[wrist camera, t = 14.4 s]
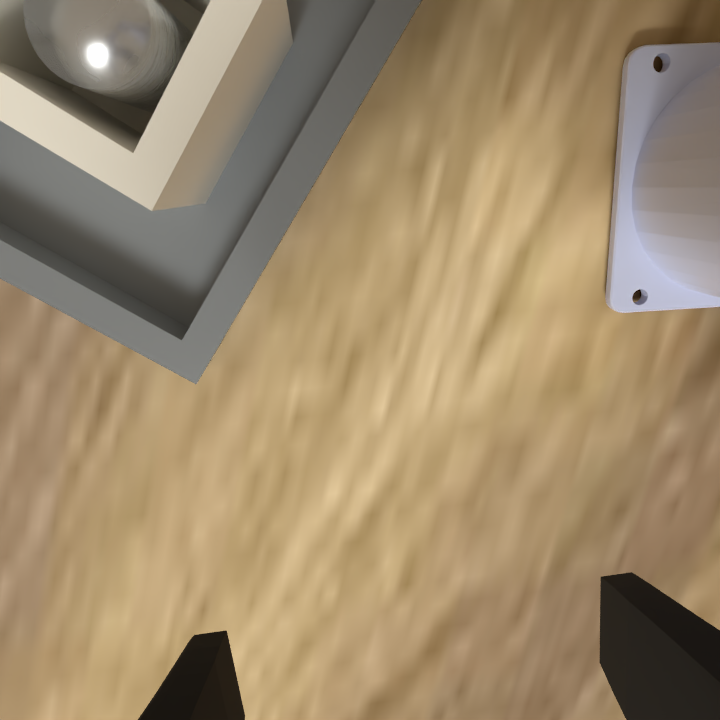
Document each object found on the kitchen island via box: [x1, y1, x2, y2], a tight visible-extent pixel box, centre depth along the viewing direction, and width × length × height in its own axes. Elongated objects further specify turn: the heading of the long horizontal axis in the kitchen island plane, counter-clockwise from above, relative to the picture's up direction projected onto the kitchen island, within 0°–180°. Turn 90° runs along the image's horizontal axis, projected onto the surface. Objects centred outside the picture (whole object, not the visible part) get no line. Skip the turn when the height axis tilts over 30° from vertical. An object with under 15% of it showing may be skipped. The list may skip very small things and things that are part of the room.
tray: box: [0, 0, 422, 384], centre depth 16 cm, size 14×10×2 cm
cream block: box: [0, 0, 293, 211], centre depth 14 cm, size 5×5×6 cm
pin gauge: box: [23, 0, 193, 113], centre depth 14 cm, size 2×2×5 cm
